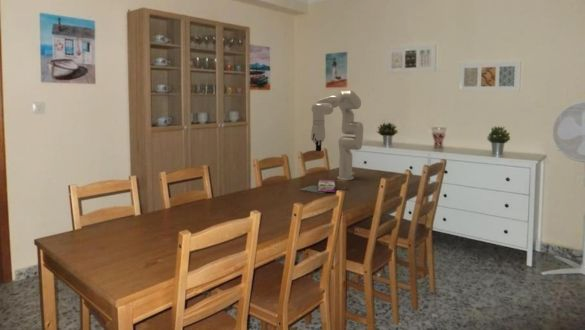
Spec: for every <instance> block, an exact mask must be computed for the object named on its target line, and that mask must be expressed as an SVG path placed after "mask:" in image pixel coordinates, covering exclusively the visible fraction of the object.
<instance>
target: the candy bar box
mask: <svg viewBox="0 0 585 330" xmlns="http://www.w3.org/2000/svg"><path fill="white" fill-rule="evenodd" d="M317 186H318V192H326V193H336V180H335V179H318V180H317Z"/></svg>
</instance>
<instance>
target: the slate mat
mask: <svg viewBox="0 0 585 330" xmlns="http://www.w3.org/2000/svg"><path fill="white" fill-rule="evenodd" d="M299 191H302V192H303V191H304V192H309V193H314V194H321V195H323V194H326V193H327V192H318V185H309V186H306V187H302V188H299Z"/></svg>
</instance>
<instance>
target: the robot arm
mask: <svg viewBox="0 0 585 330" xmlns="http://www.w3.org/2000/svg"><path fill="white" fill-rule="evenodd" d="M361 106H362V100H361V98H360V97H359V96H358V95H357V93H356V92H355V91H354V90H351V89H348V90H347V89H345V90H344V89H341V90H337V91H336V92H334V93H332V94H331V95H330V96H326V97H324V98H321V99H318V100H316V101H314V103H313V104H312V105H311V112H312V125H311V131H310V132H311V133H310V134H311V135H310V140H311V141H312V143H313V144H314V145H315V151H316V152H322V145H323V142H324V141H325V138H326V128H325V127H326V126H325V116H326V115H327V116H328V115H329V116H330V115H331V114H333V111H334V108H337V107H338V108H339V110H340V112H341V115H342V118H341V119H342V120H341V133H342V134H344V135H343V136H340V137H339V139H338V141H337V143H338V150H339V151H338V152H339V157H338V158H339V161H338V162H339V167H338V169H339V170H338V174H339V175H338V176H336V179H337V180H338V179H343V180H347V181H351V180H354V179H355V177H354V176H353V175H355V172H354V171H353V152H352V151H351V150H353V151H359V150H361V149H362V147H363V141H364V140H363V139H364V125H363V123H362V122H360V121H355V114H354V111H353V110H358V109H360V108H361ZM347 135H348V136H347ZM349 135H350V136H349ZM351 135H353V136H351Z"/></svg>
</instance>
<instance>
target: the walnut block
mask: <svg viewBox="0 0 585 330" xmlns="http://www.w3.org/2000/svg"><path fill="white" fill-rule="evenodd" d="M347 189H348V180H343V179H337V180H335V191H336V190H337V191H338V190H339V191H346V190H347Z"/></svg>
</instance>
